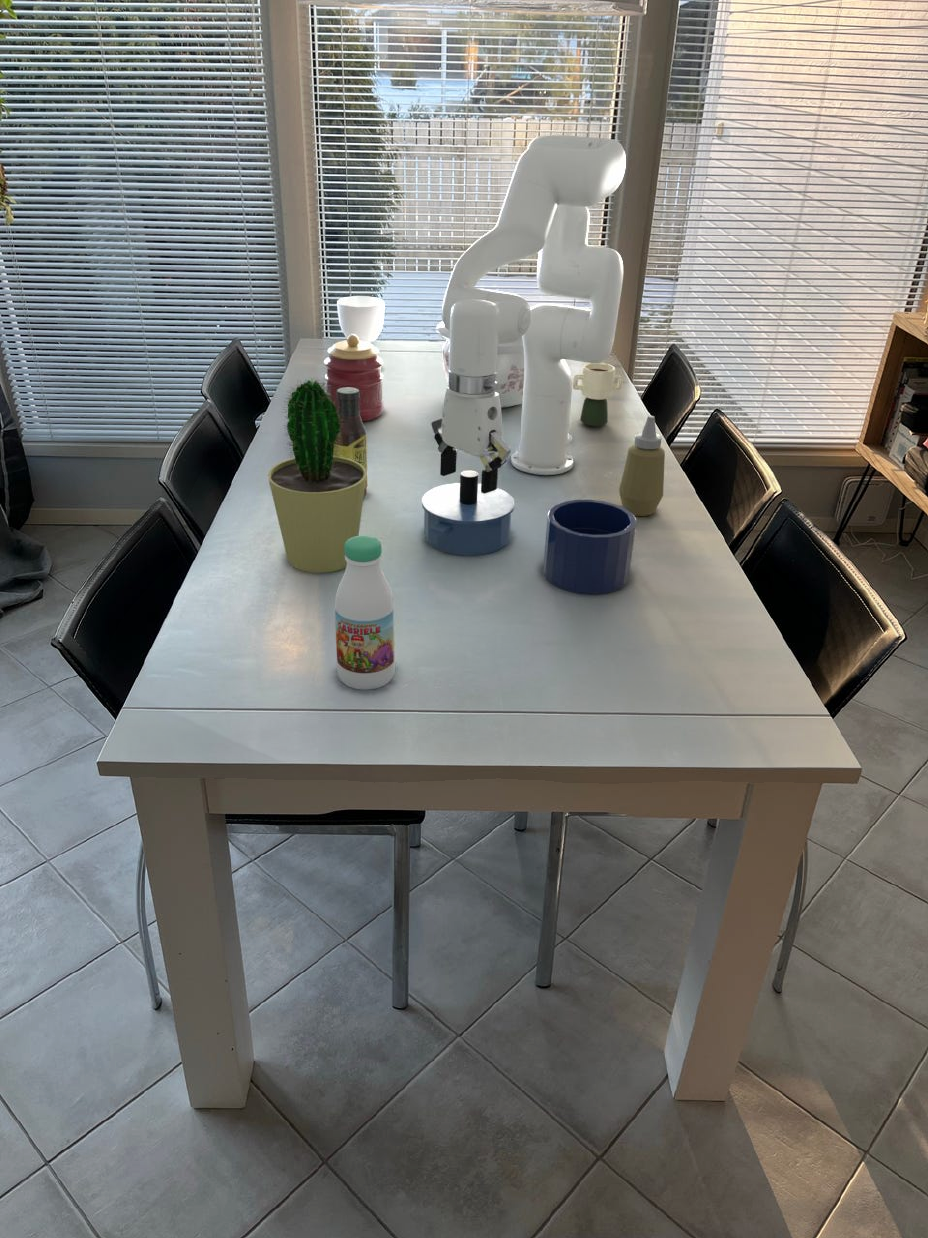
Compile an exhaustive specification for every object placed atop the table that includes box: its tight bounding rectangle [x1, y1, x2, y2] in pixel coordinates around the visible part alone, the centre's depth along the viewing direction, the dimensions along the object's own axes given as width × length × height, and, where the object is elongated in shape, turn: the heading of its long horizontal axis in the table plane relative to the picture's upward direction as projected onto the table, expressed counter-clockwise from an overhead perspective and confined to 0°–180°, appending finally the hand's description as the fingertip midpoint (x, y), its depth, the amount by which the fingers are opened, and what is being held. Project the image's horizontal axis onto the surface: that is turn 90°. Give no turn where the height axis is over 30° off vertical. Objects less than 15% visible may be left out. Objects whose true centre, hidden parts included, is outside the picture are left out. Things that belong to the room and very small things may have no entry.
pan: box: [423, 509, 512, 556], centre depth 166 cm, size 15×20×6 cm
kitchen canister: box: [323, 335, 385, 422], centre depth 215 cm, size 13×13×18 cm
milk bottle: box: [334, 535, 396, 691], centre depth 125 cm, size 8×8×20 cm
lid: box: [421, 469, 516, 524], centre depth 163 cm, size 16×16×6 cm
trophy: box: [572, 362, 623, 427], centre depth 214 cm, size 11×7×13 cm, turn 95°
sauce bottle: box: [333, 387, 368, 497], centre depth 176 cm, size 7×6×20 cm
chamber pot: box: [435, 321, 524, 409], centre depth 225 cm, size 28×28×21 cm
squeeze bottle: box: [618, 414, 666, 517], centre depth 174 cm, size 8×8×18 cm
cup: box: [336, 295, 385, 344], centre depth 243 cm, size 12×12×17 cm
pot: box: [542, 499, 637, 595], centre depth 154 cm, size 14×14×10 cm
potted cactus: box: [267, 378, 368, 574], centre depth 151 cm, size 15×15×30 cm
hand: (468, 482), depth 162 cm, fingers open, 9 cm apart
